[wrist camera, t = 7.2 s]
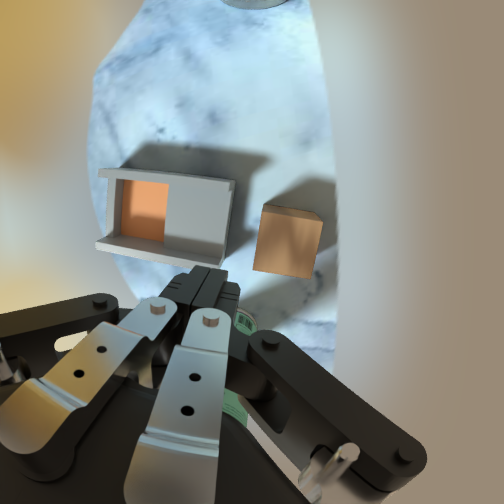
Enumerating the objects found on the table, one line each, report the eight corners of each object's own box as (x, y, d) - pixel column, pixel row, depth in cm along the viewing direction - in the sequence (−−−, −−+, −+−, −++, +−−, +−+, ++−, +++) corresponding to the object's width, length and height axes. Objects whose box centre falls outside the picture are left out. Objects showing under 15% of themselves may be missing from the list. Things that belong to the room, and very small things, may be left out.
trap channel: (119, 167, 26) (98, 168, 22) (236, 180, 26) (229, 182, 22) (114, 239, 29) (95, 248, 25) (224, 259, 28) (217, 273, 25)
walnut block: (261, 211, 22) (323, 222, 22) (263, 203, 27) (314, 212, 26) (252, 270, 23) (310, 279, 23) (256, 252, 28) (304, 260, 28)
